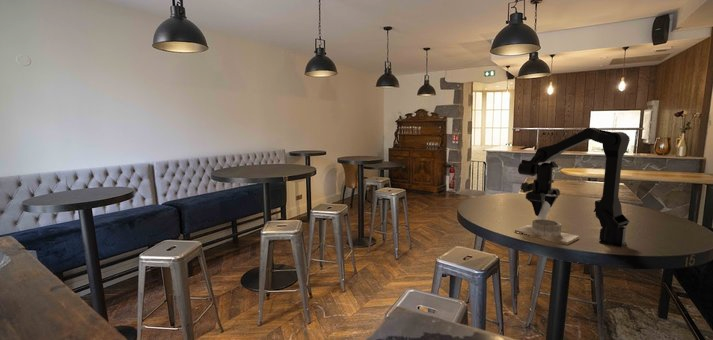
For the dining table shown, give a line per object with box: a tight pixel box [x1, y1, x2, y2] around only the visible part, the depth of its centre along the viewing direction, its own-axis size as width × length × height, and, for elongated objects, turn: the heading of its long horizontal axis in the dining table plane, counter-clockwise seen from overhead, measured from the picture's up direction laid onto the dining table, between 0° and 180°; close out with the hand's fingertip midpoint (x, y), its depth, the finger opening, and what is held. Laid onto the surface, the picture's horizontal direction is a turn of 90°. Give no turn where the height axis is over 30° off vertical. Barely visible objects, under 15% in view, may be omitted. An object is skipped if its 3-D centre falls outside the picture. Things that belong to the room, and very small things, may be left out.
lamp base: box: [514, 219, 580, 246], centre depth 131 cm, size 19×11×5 cm, turn 38°
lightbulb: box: [536, 201, 552, 220], centre depth 144 cm, size 6×6×11 cm
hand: (541, 213), depth 144 cm, fingers open, 9 cm apart
